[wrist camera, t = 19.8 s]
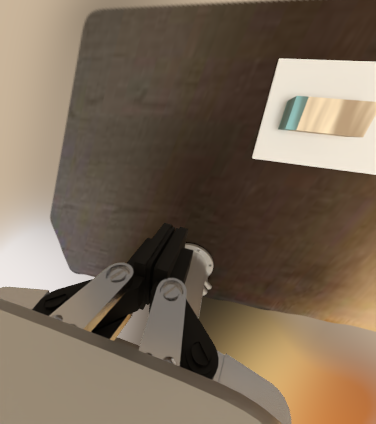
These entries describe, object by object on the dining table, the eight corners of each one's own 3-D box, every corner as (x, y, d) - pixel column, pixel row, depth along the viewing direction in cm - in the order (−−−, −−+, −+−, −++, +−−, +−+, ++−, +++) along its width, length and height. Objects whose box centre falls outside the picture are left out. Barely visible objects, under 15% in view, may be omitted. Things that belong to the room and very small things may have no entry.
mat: (462, 66, 20) (468, 64, 20) (387, 175, 27) (390, 176, 26) (278, 60, 24) (279, 58, 23) (251, 157, 30) (252, 158, 30)
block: (382, 102, 20) (296, 95, 22) (363, 137, 22) (285, 128, 23) (359, 106, 23) (287, 100, 25) (344, 136, 25) (278, 129, 27)
